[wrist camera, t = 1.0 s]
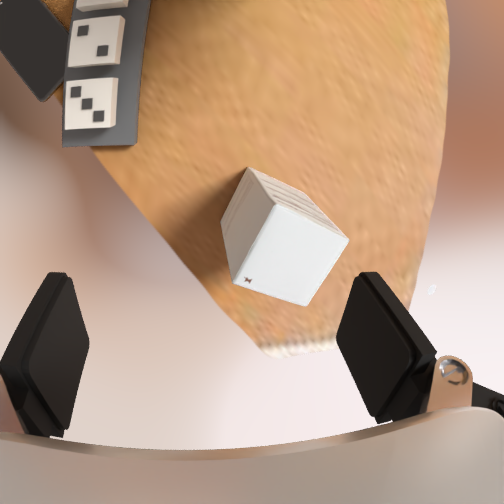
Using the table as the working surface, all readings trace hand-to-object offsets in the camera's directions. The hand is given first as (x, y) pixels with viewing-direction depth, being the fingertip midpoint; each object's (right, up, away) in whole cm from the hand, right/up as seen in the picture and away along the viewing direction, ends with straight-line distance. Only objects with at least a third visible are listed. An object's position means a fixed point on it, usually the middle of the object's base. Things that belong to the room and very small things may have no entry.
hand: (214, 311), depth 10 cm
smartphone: (-23, +25, +12) cm, 36 cm away
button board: (-13, +22, +15) cm, 30 cm away
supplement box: (+2, +7, +26) cm, 27 cm away
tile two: (-13, +21, +12) cm, 28 cm away
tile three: (-14, +16, +15) cm, 26 cm away
